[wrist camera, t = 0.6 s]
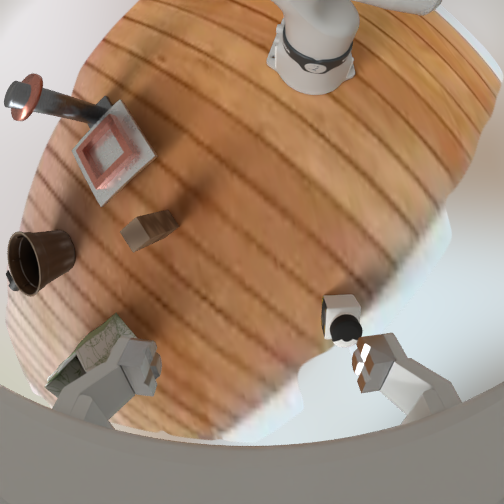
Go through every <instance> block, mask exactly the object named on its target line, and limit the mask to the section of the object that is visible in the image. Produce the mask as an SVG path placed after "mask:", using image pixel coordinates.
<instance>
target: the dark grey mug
mask: <svg viewBox="0 0 504 504" xmlns="http://www.w3.org/2000/svg"><path fill="white" fill-rule="evenodd" d="M6 276H7V278H8V280H9V282H10V284H9V287H10V288H11V289H12V290H13V291H18V290H19V288H18V287H17V285H16V284H15V282H14V280H13V278H12V276H11V275H10V272H9V270H8V271H7V273H6Z"/></svg>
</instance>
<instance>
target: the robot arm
mask: <svg viewBox="0 0 504 504" xmlns="http://www.w3.org/2000/svg"><path fill="white" fill-rule="evenodd" d="M271 1H272V2H274V3H275V4H276V5H277V6H278V7H279V8H280V9H281V10H282V12H283V15H284V18H283V20H282V22H281V24H278V25H277V29H276V33H277V34H276V37H275V40H274V42H273V45H272V47H271V50H270V53H269V55H268V58H267V65H268V66H269V67H271V68H272V69H274V70H275V71H277V72H278V73H279V75H280V76H281V78H282V79H283V81H284V82H285V83H286V84H287V85H289V86H290V87H291V88H293V89H295V90H297V91H299V92H302V93H305V94H310V95H321V94H326V93H329V92H331V91H333V90H335V89H336V88H337V87H338V86H339V85H340V84H341V83H342V82H343V81H345V80H348V79H351V78H353V77H354V75H355V69H354V65H353V61H354V58H353V57H352V54H351V50H352V45H353V39H354V36H355V34H356V32H357V30H358V28H359V24H360V18H359V14H358V12H357V10H356V8H355V6H354V5H353V4H352V2H351V1H350V0H271ZM352 1H357V2H361V3H365V4H369V5H373V6H376V7H380V8H383V9H387V10H393V11H399V12H404V13H410V14H415V15H426V14H428V13H430V12H432V11H434V10H435V9H436V8H437V7H438V6H439V5H440V3H441V2H442V0H352ZM272 57H275V58H272ZM356 345H357V347H358V349H357V350H355V351H354V353H353V357H352V366H353V370H354V373H355V374H356V375H358V376H359V378H358V381H357V382H358V385H359V387H360V391H361V393H366V392H372V391H379V390H380V392H381V393H382V394H383V395H384V396H385V397H387V398H388V399H389V400H390V401H391V402H392V403H393V404H395V405H396V406H397V407H398V408H399V409H400V410H401V411H402V412H404V413H405V414H406V415H407V416H406V418H405V419H404V420H403V422H402V423H401V424H400V425H399V426H395V427H392V428H388V429H384V430H380V431H375V432H371V433H367V434H362V435H357V436H352V437H347V438H341V439H334V440H328V441H321V442H312V443H303V444H291V445H273V446H225V445H207V444H196V443H185V442H177V441H171V440H164V439H158V438H152V437H146V436H141V435H136V434H131V433H127V432H123V431H118V430H115V428H114V427H113V426H112V425H111V423H110V422H109V421H108V420H109V419H110V418H111V417H112V416H113V415H114V414H115V413H116V412H117V411H119V410H120V409H121V408H122V407H123V406H124V405H125V404H126V403H127V402H128V401H129V400H130V399H131V398H132V397H133V396H135V394H138V395H145V396H154V393H155V390H156V386H157V383H156V380H155V379H157V378H158V377H159V376H160V373H161V367H162V362H161V357H160V355H159V354H158V353H157V352H156V349H157V345H156V342H155V341H153V340H146V339H138V338H128V337H120V338H119V339H118V341H117V342H116V344H115V346H114V348H113V350H112V352H111V354H110V356H109V358H108V360H107V362H106V363H102V364H100V365H98V366H97V367H95V368H94V369H92V370H91V371H89V372H87V373H86V374H84V375H83V376H81V377H80V378H78V379H76V380H75V381H73V382H72V383H70V384H69V385H67V386H65V387H64V388H63V389H62V391H61V393H60V395H59V397H58V399H57V401H56V403H55V405H54V406H53V408H52V409H51V408H48V407H45V406H43V405H41V404H39V403H36V402H34V401H32V400H30V399H28V398H25V397H24V396H21V395H19V394H17V393H15V392H14V391H12V390H10V389H8V388H6V387H4V386H2V385H0V504H504V382H502V383H500V384H499V385H497V386H495V387H493V388H491V389H489V390H488V391H486V392H483V393H481V394H480V395H477V396H475V397H473V398H471V399H469V400H467V401H465V402H461V400H460V398H459V396H458V394H457V392H456V391H455V389H454V387H453V385H452V383H451V382H450V381H448V380H446V379H445V378H443V377H441V376H440V375H438V374H436V373H435V372H433V371H431V370H429V369H428V368H426V367H425V366H423V365H422V364H420V363H418V362H416V361H415V360H413V359H412V358H407V356H406V354H405V352H404V351H403V349H402V347H401V345H400V344H399V342H398V340H397V338H396V337H395V335H394V334H393V333H387V334H381V335H373V336H365V337H359V339H358V341H357V344H356Z"/></svg>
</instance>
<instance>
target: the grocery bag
mask: <svg viewBox="0 0 504 504" xmlns="http://www.w3.org/2000/svg"><path fill="white" fill-rule="evenodd" d="M120 337H128V338H137V337H136V336H135V335H134V334H133V332H132V331H131V330H130V329H129V328H128V327H127V325H126V324H125V323H124V322H123V321H122V319H121V318H120V317H119V316H118V315H117V313H115V314H114V315H113V316H112V317H111V318H109V319H108V320H107V321H106V322H105V323H104V324H102V325H101V326H100V327H98V328H96V329H95V330H93V331H92V332H90V333H89V334H88V335H87V336H86V337H85V338H84V339H83V340H82V341H81V342H80V343H79V344H78V346H77V347H76V349H75V351H74V352H73V353H72V354H71V355H70V356H69V357H68V358H67V359H66V360H64V361H63V362H62V363H61V364H60V365H59V367H58V368H57V370H58V369H59V368H60V369H59V370H58V371H57V370H56V371H57V372H56V371H55V372H56V373H55V372H54V373H55V374H54V373H53V374H54V375H53V374H52V375H50V376H49V377H48V379H47V381H49V382H48V383H47V384H46V386H45V388H46V389H47V390H48V391H50V392H51V393H52V394H54V395H55V396H56V397H57V398H58V397H59V395H60V393H61V391H62V389H63V388H64V387H65V386H67V385H69V384H70V383H72V382H73V381H75V380H76V379H78V378H80V377H81V376H83V375H84V374H86V373H87V372H89V371H91V370H92V369H94V368H95V367H97V366H98V365H100V364H102V363H106V362H107V360H108V358H109V356H110V354H111V352H112V350H113V348H114V346H115V344H116V342H117V341H118V339H119V338H120ZM76 355H77V357H78V359H79V361H80V362H81V363H80V362H79V361H78V360H77V359H76V358H75V356H76Z"/></svg>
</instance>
